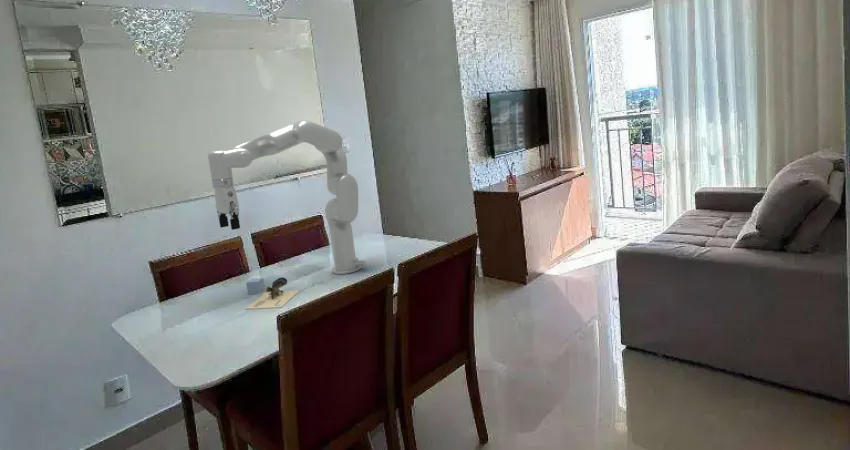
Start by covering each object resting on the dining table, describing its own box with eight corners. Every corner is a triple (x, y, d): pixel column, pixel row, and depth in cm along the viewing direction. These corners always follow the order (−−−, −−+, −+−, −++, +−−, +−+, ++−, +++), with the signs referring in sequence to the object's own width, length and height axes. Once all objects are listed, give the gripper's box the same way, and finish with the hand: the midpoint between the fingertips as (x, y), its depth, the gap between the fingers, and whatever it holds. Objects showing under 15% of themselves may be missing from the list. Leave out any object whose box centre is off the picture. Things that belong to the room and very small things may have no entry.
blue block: (265, 289, 223) (263, 277, 222) (259, 293, 218) (257, 281, 217) (253, 290, 224) (251, 278, 223) (248, 294, 219) (246, 282, 218)
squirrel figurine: (286, 295, 207) (292, 283, 216) (272, 282, 205) (279, 271, 214) (272, 306, 210) (279, 294, 218) (258, 293, 208) (266, 281, 216)
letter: (299, 290, 216) (299, 290, 216) (281, 307, 198) (281, 306, 198) (266, 292, 218) (266, 292, 218) (245, 309, 201) (245, 308, 201)
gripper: (242, 182, 202) (249, 227, 205) (222, 181, 214) (229, 224, 218) (223, 185, 197) (230, 231, 200) (203, 184, 209) (211, 227, 213)
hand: (230, 227), depth 209 cm, fingers open, 9 cm apart
